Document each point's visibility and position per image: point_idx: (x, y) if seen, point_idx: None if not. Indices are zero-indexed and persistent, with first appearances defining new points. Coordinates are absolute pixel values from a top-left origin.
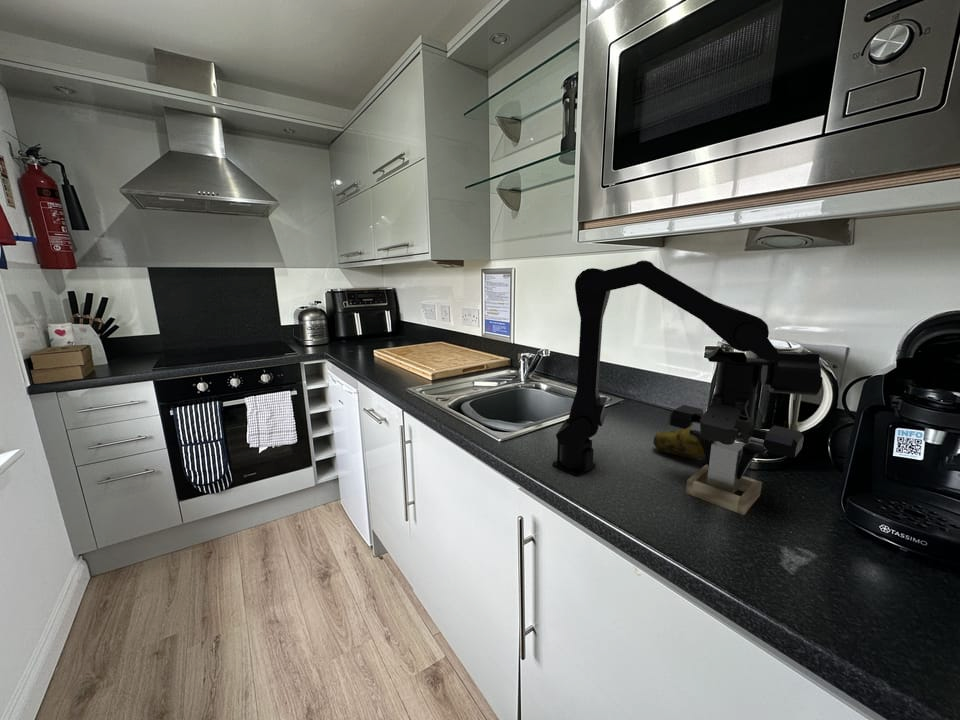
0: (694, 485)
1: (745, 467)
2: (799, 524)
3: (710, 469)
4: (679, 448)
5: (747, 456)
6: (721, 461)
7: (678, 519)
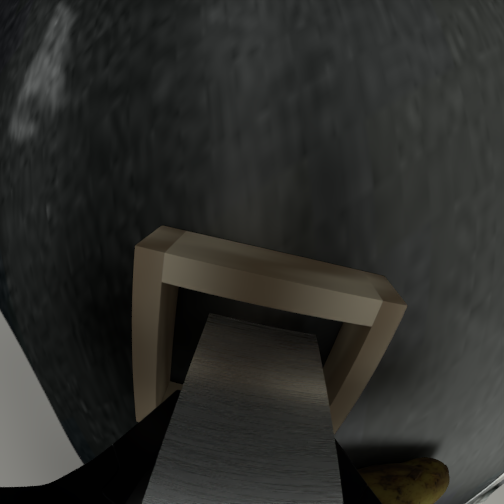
0: (371, 292)
1: (126, 435)
2: (43, 271)
3: (317, 400)
4: (396, 479)
5: (88, 491)
6: (262, 454)
7: (382, 45)
